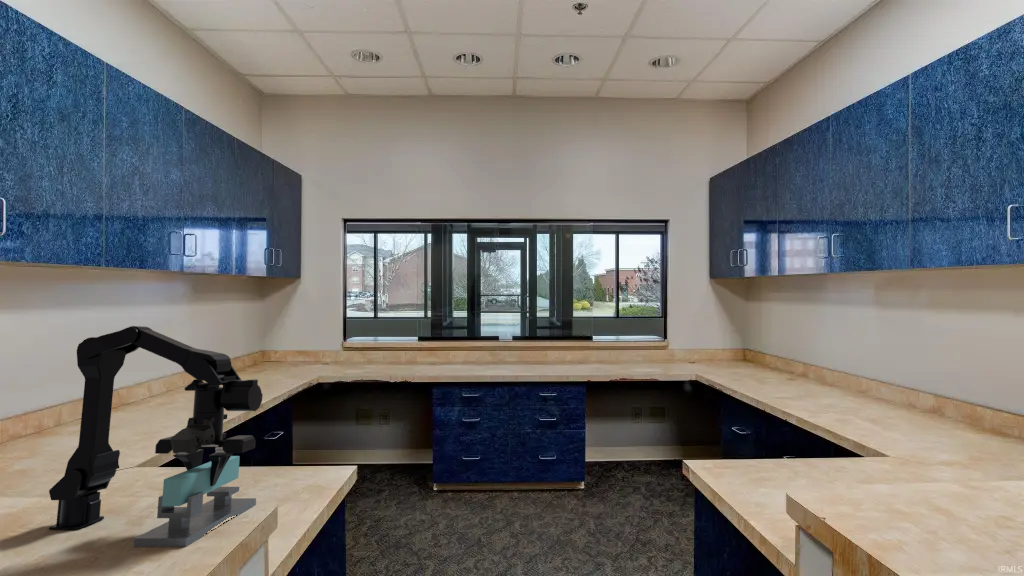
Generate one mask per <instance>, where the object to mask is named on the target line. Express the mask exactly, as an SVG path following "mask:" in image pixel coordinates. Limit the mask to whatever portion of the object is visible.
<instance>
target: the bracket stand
mask: <svg viewBox="0 0 1024 576" xmlns="http://www.w3.org/2000/svg"><path fill="white" fill-rule="evenodd" d="M238 492H240V486H221V487H219V488H217V489H214V490H212V491H210V492H208V493H206V497H213V499H211V500H209V501H207V502H205V503H203V502H204V495H203V492H197V493H195V494H193V495H191V496H189V497H188V500H187V503H186V506H162V498H163V494H162V495H160V496H158V503H157V514H156V515H157V517H156V519H168V521H166V522H164V523H163V524H160V525H158V526H156V527H154V528H152V529H150V530H149V531H146V532H144V533H142V534H140V535H138V536H136V537H134V538H133V547H134V548H136V547H137V548H143V547H144V548H145V547H147V548H148V547H149V548H153V547H154V548H155V547H157V548H161V547H163V548H165V547H166V548H167V547H169V548H178V547H179V548H181V547H183V548H184V547H185V548H186V547H187V546H190V545H192V544H193V543H194V542H196V541H198V540H199V538H200V539H201V538H203V537H204V536H203V535H204V534H206V533H207V532H208V531H210V530H211V529H212V528H214V527H215V526H217V525H218V524H220V523H221V522H223V521H224V520H226V519H227V518H229V517H232V516H235V515H238V514H240V515H242V514H243V513H245V512H246V511H248V510H250V509H252V508H254V507H255V506H256V505H257V497H256V498H255V497H254V498H253V497H252V498H250V497H248V498H247V497H245V498H243V497H242V498H241V497H240V498H239V497H238V498H235V497H232V496H233V495H235V494H236V493H238ZM238 516H239V515H238ZM206 535H207V534H206ZM202 536H203V537H202Z"/></svg>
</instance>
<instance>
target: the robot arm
mask: <svg viewBox="0 0 1024 576" xmlns="http://www.w3.org/2000/svg"><path fill="white" fill-rule="evenodd" d="M138 349H143V350H146V351H147V352H149V353H152V354H154V355H156V356H159V357H162V358H164V359H166V360H168V361H171V362H172V363H175V364H177V365H179V366H180V367H181V368H182V369H183V371H184V372H185V373H187V374H188V375H189V376H191V377H192V378H193V380H192V381H191V383H189V384H188V385H187V386H185V387H184V388H183V389H184V391H187V392H189V391H191V392H193V391H194V394H193V395H194V398H193V409H192V411H193V412H192V416H191V417H188V420H187V423H186V424H187V425H186V427H183V429H180V430H179V431H178V432H176V434H174V435H173V436H169V437H168V436H167V437H165V438H161V439H159V440H158V441H157V442H156V444H155V449H154V453H155V454H156V455H157V454H159V455H163V454H170V453H171V452H172V453H173V455H172V456H173V457H174V458H175V459H176V458H177V459H179V460H180V461H181V462H182V463H183V465H184V466H185V468H186V469H185V470H186V471H187V470H190V469H192V468H195V467H198V466H200V465H203V464H202V463H203V457H204V450H206V449H207V450H208V449H210V450H211V449H213V450H215V451H214V453H211V454H209V455H208V458H209V459H210V462H212V463H211V475H210V486H214V485H215V484H216V482H217V480H218V478H219V476H220V474H221V472H222V471H223V469H224V467H225V465H226V463H227V462H228V460H229V459H230V457H231V456H233V454H243V453H245V452H248V451H250V450H254V449H255V448H256V441H257V440H256V438H255V437H254V435H251V434H250V435H249V434H248V435H243V434H242V435H240V434H239V435H235V436H232V437H228V438H227V432H223V431H224V430H223V429H224V420H227V419H228V414H227V413H225V411H226V412H256V411H257V410H258V409H259V408H260V407H261V404H262V402H263V393H262V389H261V387H260V386H259V383H258V382H259V381H258V379H256V378H255V379H254V378H253V379H247V380H245V379H243V380H242V378H241V377H240V376H239V374H238V372H236V370H235V368H234V367H233V366H232V361H231V358H230V356H229V355H227V354H225V353H223V352H217V351H214V350H213V351H212V350H209V349H208V350H207V349H200V348H196V347H193V346H191V345H188V344H185V343H184V342H181V341H178V340H176V339H174V338H172V337H169V336H167V335H165V334H163V333H161V332H157V331H155V330H153V329H152V328H151V327H148V326H141V325H139V326H138V325H137V326H136V325H132V326H131V325H130V326H128V327H125V328H123V329H121V330H117V331H115V332H111V333H106V334H103V335H100V336H97V337H95V336H93V337H92V336H91V337H87V338H85V339H83V341H81V342H79V344H78V346H77V348H76V363H77V367H78V369H79V371H80V373H81V374H82V376H83V377H84V388H83V396H82V397H83V398H82V407H81V418H80V429H79V438H78V439H79V440H78V445H77V447H76V449H75V451H74V452H73V453H72V455H71V457H70V458H69V460H68V461H67V465H66V467H65V472H64V475H63V476H62V478H60V479H59V480H58V481H57V482H56V483H55V484H54V485H53V486H52V487H51V488H49V490H48V493H49V494H48V495H49V497H50V501H58V502H57V503H58V504H57V513H56V523H55V524H52V525H50V526H48V529H49V530H81V529H83V528H85V527H87V526H90V525H92V524H94V523H97V522H100V521H102V520H105V516H104V515H101V504H102V499H101V491H102V490H106V489H108V486H109V484H110V482H111V480H112V479H113V478H114V477H115V475H116V473H117V470H119V469H120V464H119V460H120V459H119V458H120V455H121V452H120V450H119V449H116V450H113V448H112V446H111V445H110V443H109V442H110V441H109V439H110V428H111V417H112V416H111V415H112V406H113V395H114V386H115V385H114V383H115V377H116V376H117V374H118V373H119V372H120V370H121V368H122V367H123V366H124V364H125V359H126V356H127V355H129V354H131V353H134V352H136V351H137V350H138Z"/></svg>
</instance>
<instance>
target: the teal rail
mask: <svg viewBox="0 0 1024 576" xmlns="http://www.w3.org/2000/svg"><path fill="white" fill-rule="evenodd" d="M240 458H241V457H240V455H231V457H230V459H229V460H228V462H227V463H226V465H225V467H224V469H223V471H222V472H221V474H220V476H219V478H218V480H217V482H216V484H215V485H214V486H210V475H211V463H212V462H211V461H208V462H206V463H203V464H202V465H200V466H198V467H195V468H192V469H190V470H187V469H186V470H185V471H182V472H180V473H177V474H174V475H172V476H170V477H167V478H164V479H163V486H162V495H163V498H162V506H174V507H182V506H183V505H185V504H187V500H188V497H189V496H191V495H193V494H195V493H197V492H203V496H204V495H207V493H208V492H210V491H212V490H214V489H217V488H219V487H224V486H225V485H227V484H229V483H231V482H233V481H235V480H237V479H239V473H240Z"/></svg>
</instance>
